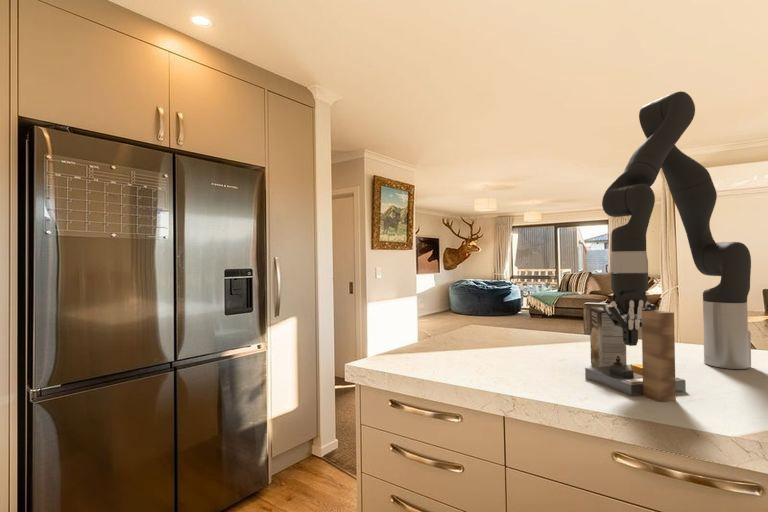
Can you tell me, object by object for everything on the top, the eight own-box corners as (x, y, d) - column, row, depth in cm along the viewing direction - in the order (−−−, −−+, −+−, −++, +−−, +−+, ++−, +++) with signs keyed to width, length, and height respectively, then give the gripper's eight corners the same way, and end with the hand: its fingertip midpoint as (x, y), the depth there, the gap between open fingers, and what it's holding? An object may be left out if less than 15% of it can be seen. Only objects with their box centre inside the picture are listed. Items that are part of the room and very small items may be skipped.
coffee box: (589, 364, 112) (588, 306, 112) (614, 365, 111) (613, 306, 111) (600, 373, 103) (599, 310, 103) (628, 374, 102) (627, 310, 102)
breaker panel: (633, 376, 102) (633, 358, 102) (685, 393, 89) (685, 373, 89) (585, 380, 100) (585, 362, 100) (631, 399, 86) (630, 378, 86)
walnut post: (658, 394, 87) (657, 310, 87) (675, 400, 83) (674, 312, 84) (643, 395, 86) (641, 311, 87) (659, 401, 83) (657, 313, 83)
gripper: (639, 270, 100) (641, 340, 100) (593, 271, 97) (594, 343, 97) (666, 270, 93) (668, 346, 92) (617, 271, 90) (618, 350, 90)
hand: (630, 345), depth 95 cm, fingers closed
